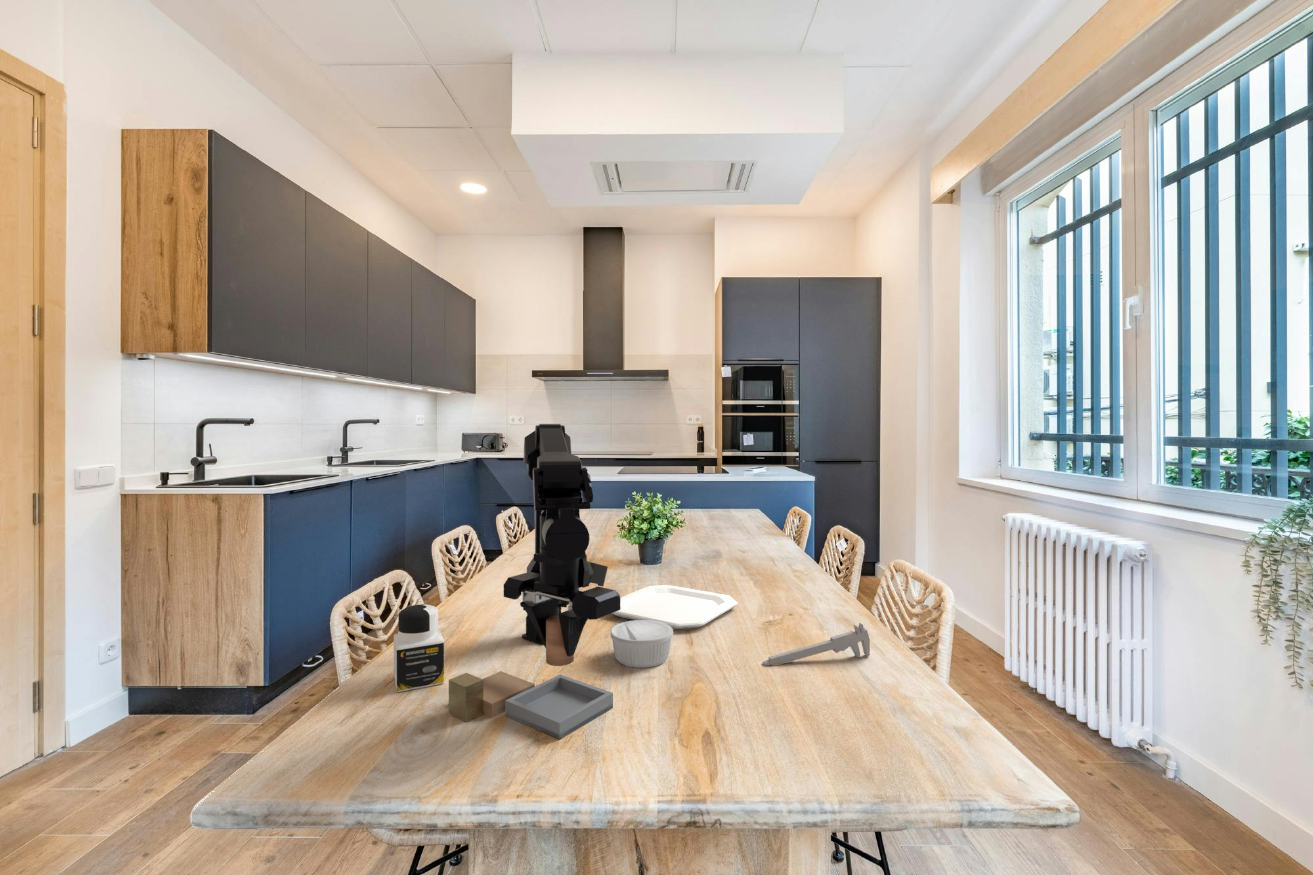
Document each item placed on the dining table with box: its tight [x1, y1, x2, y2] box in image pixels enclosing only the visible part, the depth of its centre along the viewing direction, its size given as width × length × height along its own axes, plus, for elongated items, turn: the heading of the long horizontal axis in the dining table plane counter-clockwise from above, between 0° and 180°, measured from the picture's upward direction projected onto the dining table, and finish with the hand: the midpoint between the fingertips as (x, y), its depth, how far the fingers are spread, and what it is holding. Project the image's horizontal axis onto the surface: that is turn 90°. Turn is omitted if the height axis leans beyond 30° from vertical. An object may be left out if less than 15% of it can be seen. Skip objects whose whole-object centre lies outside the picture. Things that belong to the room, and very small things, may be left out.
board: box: [482, 670, 536, 719], centre depth 89 cm, size 8×8×2 cm
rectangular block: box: [448, 672, 484, 723], centre depth 85 cm, size 3×4×5 cm
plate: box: [611, 584, 739, 630], centre depth 133 cm, size 25×25×2 cm
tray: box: [504, 674, 614, 740], centre depth 85 cm, size 11×11×2 cm
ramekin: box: [610, 620, 674, 669], centre depth 106 cm, size 11×11×5 cm
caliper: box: [761, 622, 871, 667], centre depth 105 cm, size 20×1×6 cm, turn 102°
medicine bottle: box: [393, 603, 445, 693], centre depth 96 cm, size 7×7×12 cm
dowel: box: [545, 615, 575, 667], centre depth 85 cm, size 4×4×6 cm
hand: (559, 652), depth 85 cm, fingers closed on dowel, 4 cm apart
